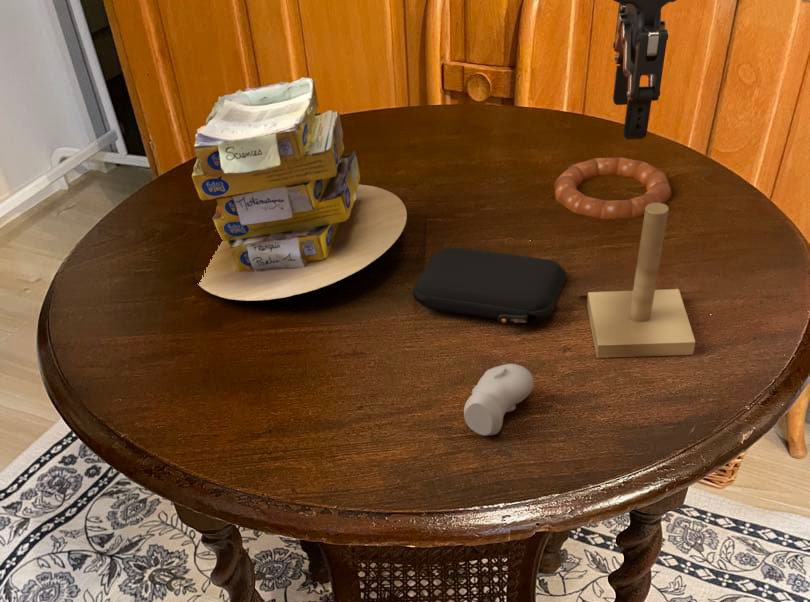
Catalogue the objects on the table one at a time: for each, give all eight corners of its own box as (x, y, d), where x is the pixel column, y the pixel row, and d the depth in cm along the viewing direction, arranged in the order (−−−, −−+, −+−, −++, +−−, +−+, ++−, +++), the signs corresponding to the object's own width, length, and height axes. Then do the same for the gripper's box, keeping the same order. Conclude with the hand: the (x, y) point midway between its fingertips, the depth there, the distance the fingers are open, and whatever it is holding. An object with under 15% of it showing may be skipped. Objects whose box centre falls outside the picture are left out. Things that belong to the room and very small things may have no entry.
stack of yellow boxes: (154, 301, 94) (104, 146, 81) (245, 193, 109) (215, 49, 97) (369, 326, 88) (351, 164, 75) (433, 208, 103) (426, 58, 91)
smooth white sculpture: (499, 392, 81) (545, 396, 78) (451, 438, 77) (498, 444, 74) (488, 351, 79) (536, 353, 75) (438, 396, 75) (486, 401, 71)
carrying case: (403, 318, 88) (544, 340, 84) (401, 292, 86) (546, 313, 82) (437, 264, 95) (569, 282, 91) (436, 238, 93) (571, 256, 88)
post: (676, 301, 87) (699, 181, 78) (693, 355, 81) (720, 231, 72) (586, 304, 88) (599, 185, 79) (596, 358, 82) (611, 236, 73)
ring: (658, 172, 106) (661, 151, 104) (677, 226, 97) (681, 204, 95) (549, 177, 107) (551, 156, 105) (558, 231, 98) (560, 209, 96)
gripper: (711, -44, 73) (677, 149, 85) (681, -88, 82) (654, 91, 94) (621, -39, 73) (599, 152, 85) (601, -84, 83) (585, 94, 95)
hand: (628, 119), depth 90 cm, fingers open, 8 cm apart
